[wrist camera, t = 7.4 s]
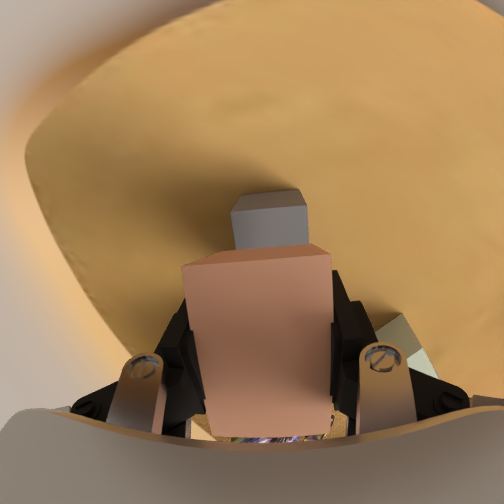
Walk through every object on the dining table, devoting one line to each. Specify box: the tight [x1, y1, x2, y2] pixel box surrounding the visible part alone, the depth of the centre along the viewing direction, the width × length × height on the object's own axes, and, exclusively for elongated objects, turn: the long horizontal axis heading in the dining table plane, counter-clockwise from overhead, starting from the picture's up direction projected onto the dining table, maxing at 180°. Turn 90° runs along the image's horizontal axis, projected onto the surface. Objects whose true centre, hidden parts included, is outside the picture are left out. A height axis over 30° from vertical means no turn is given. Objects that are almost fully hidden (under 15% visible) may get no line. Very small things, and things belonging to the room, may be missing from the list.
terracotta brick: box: [181, 244, 334, 438], centre depth 10 cm, size 6×4×5 cm, turn 7°
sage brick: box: [375, 313, 439, 379], centre depth 21 cm, size 6×4×5 cm, turn 42°
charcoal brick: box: [230, 189, 309, 250], centre depth 18 cm, size 6×4×5 cm, turn 7°
